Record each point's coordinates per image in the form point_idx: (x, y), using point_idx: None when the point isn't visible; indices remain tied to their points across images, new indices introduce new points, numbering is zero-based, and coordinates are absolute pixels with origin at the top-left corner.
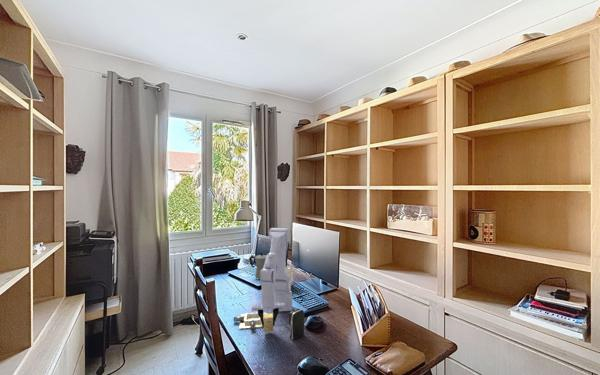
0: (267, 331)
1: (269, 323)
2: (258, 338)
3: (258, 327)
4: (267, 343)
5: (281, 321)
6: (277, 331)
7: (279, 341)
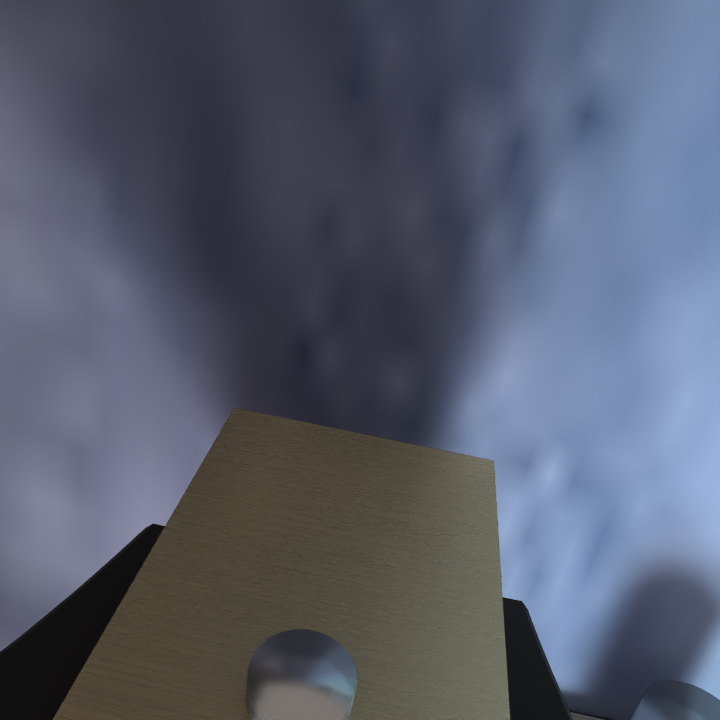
0: (389, 445)
1: (276, 609)
2: (645, 367)
3: None
4: (482, 53)
5: None
6: (148, 461)
7: (132, 37)
